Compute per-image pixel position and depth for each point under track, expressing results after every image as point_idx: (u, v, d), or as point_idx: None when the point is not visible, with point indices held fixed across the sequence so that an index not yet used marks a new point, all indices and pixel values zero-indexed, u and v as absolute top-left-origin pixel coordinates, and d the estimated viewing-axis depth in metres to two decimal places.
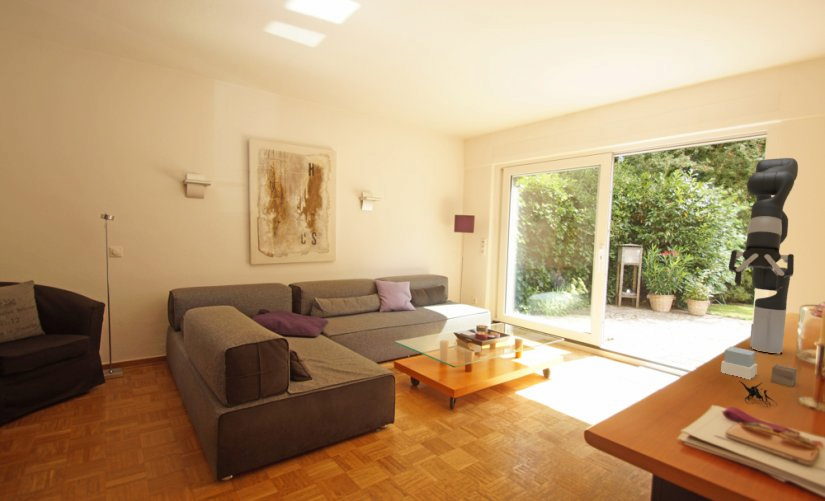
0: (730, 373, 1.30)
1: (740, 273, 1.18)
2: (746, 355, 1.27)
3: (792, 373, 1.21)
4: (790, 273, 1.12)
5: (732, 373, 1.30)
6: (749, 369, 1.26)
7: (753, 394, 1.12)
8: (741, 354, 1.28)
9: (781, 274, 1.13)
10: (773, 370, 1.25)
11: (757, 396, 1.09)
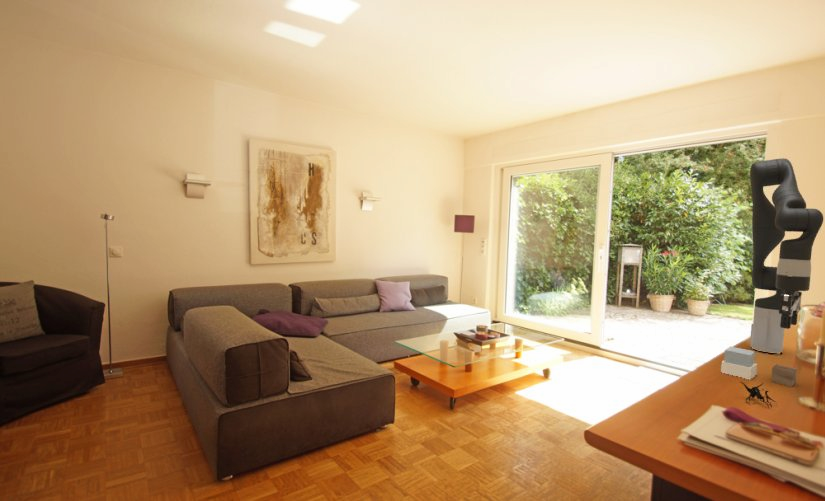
0: (730, 373, 1.30)
1: (791, 317, 1.20)
2: (746, 355, 1.27)
3: (792, 373, 1.21)
4: (799, 309, 1.26)
5: (732, 373, 1.30)
6: (749, 369, 1.26)
7: (754, 395, 1.11)
8: (741, 354, 1.28)
9: (798, 311, 1.25)
10: (773, 370, 1.25)
11: (758, 397, 1.09)
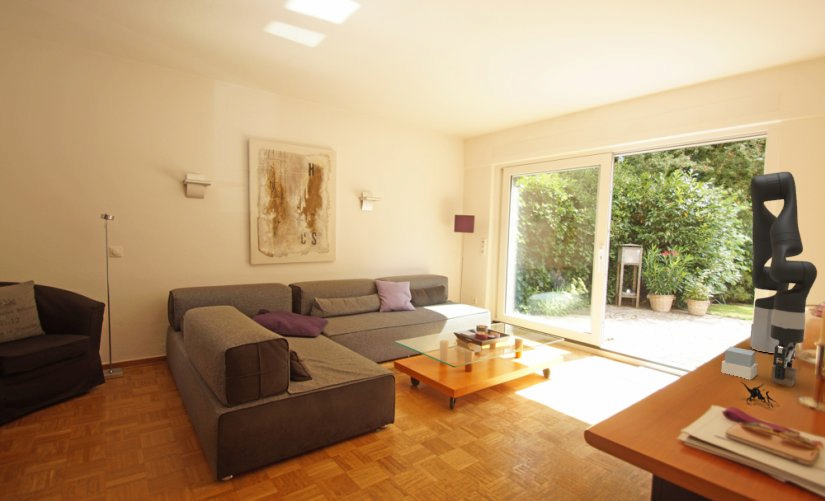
0: (730, 373, 1.30)
1: (785, 369, 1.21)
2: (747, 355, 1.27)
3: (792, 373, 1.21)
4: (794, 358, 1.27)
5: (732, 373, 1.30)
6: (749, 369, 1.26)
7: (755, 395, 1.11)
8: (742, 354, 1.28)
9: (793, 361, 1.26)
10: (773, 370, 1.25)
11: (759, 397, 1.09)
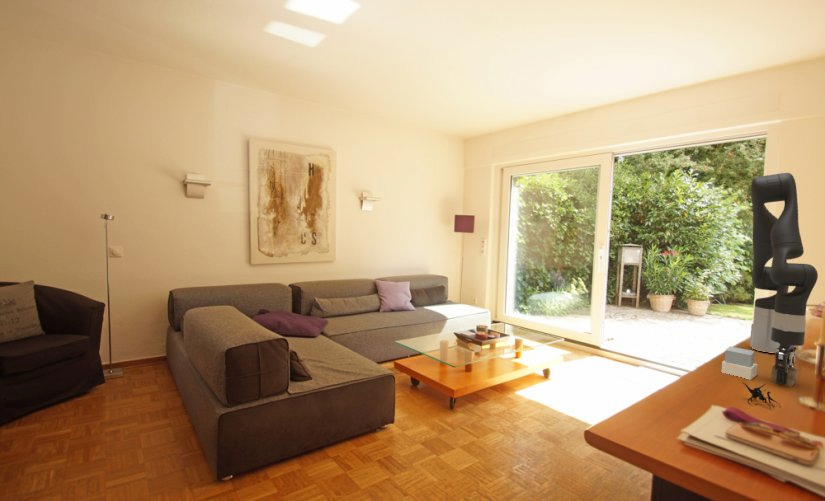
0: (730, 373, 1.30)
1: None
2: (747, 355, 1.27)
3: (792, 373, 1.21)
4: (793, 364, 1.26)
5: (732, 373, 1.30)
6: (750, 369, 1.26)
7: (756, 395, 1.11)
8: (742, 354, 1.28)
9: (792, 367, 1.25)
10: (773, 370, 1.25)
11: (760, 398, 1.08)
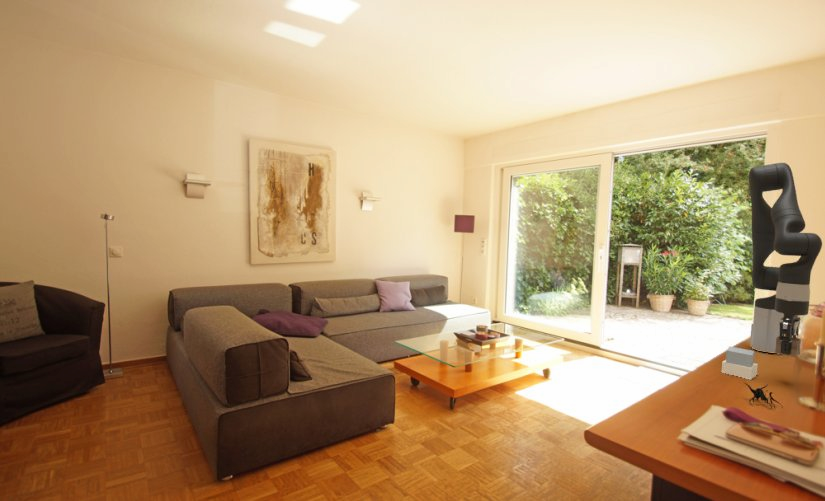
0: (731, 373, 1.30)
1: (791, 343, 1.21)
2: (748, 355, 1.27)
3: (796, 343, 1.20)
4: (797, 335, 1.26)
5: (733, 373, 1.30)
6: (750, 369, 1.26)
7: (758, 396, 1.11)
8: (743, 354, 1.28)
9: None
10: (777, 340, 1.24)
11: (762, 398, 1.08)
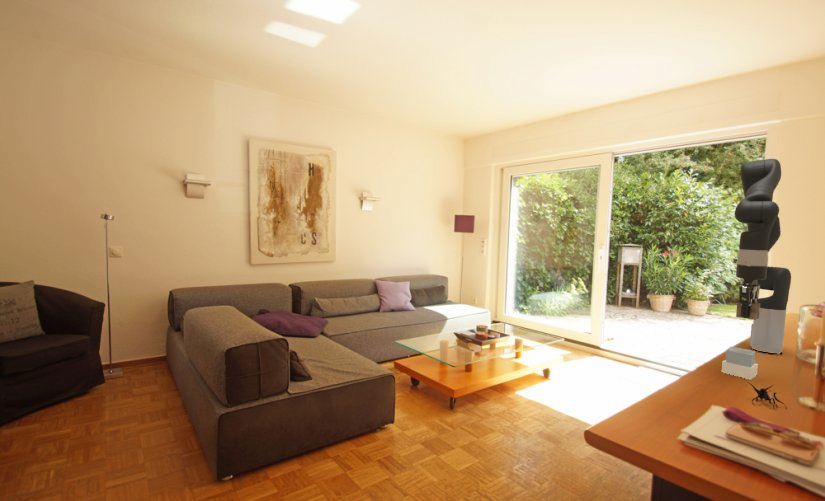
0: (731, 373, 1.30)
1: (750, 307, 1.27)
2: (748, 355, 1.27)
3: (755, 306, 1.26)
4: (757, 301, 1.31)
5: (733, 373, 1.30)
6: (750, 369, 1.26)
7: (762, 396, 1.10)
8: (743, 354, 1.28)
9: None
10: (738, 305, 1.29)
11: (765, 398, 1.08)
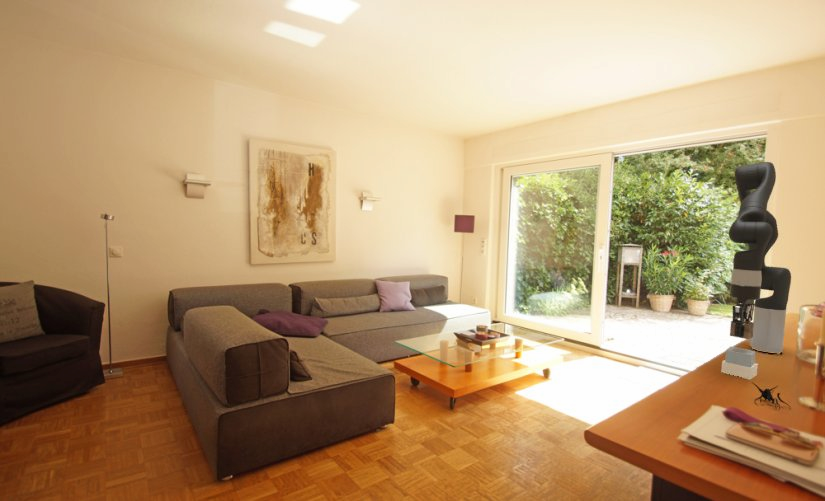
0: (730, 373, 1.30)
1: None
2: (747, 355, 1.27)
3: (748, 326, 1.27)
4: (751, 320, 1.32)
5: (732, 373, 1.30)
6: (749, 369, 1.26)
7: (767, 397, 1.10)
8: (742, 354, 1.28)
9: None
10: (731, 324, 1.31)
11: (768, 398, 1.08)
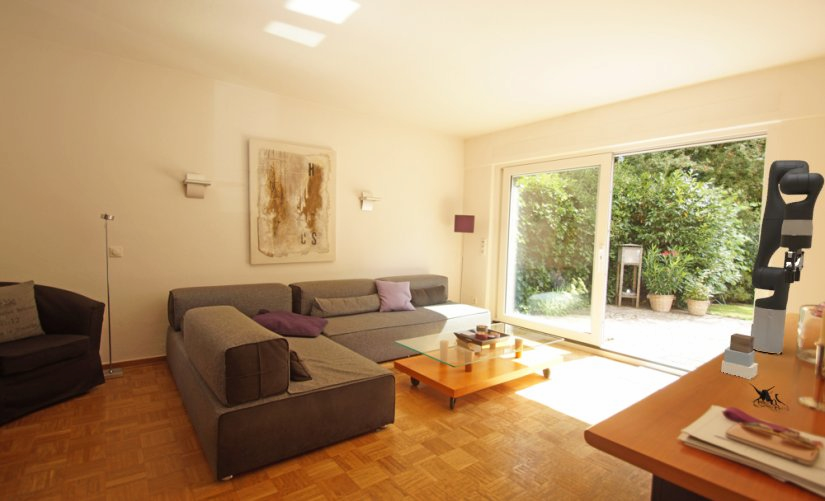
0: (730, 372, 1.30)
1: (794, 273, 1.31)
2: (746, 355, 1.28)
3: (748, 340, 1.28)
4: (802, 267, 1.37)
5: (732, 372, 1.30)
6: (749, 369, 1.26)
7: (764, 397, 1.10)
8: (741, 354, 1.29)
9: (801, 269, 1.36)
10: (731, 338, 1.31)
11: (767, 399, 1.07)
